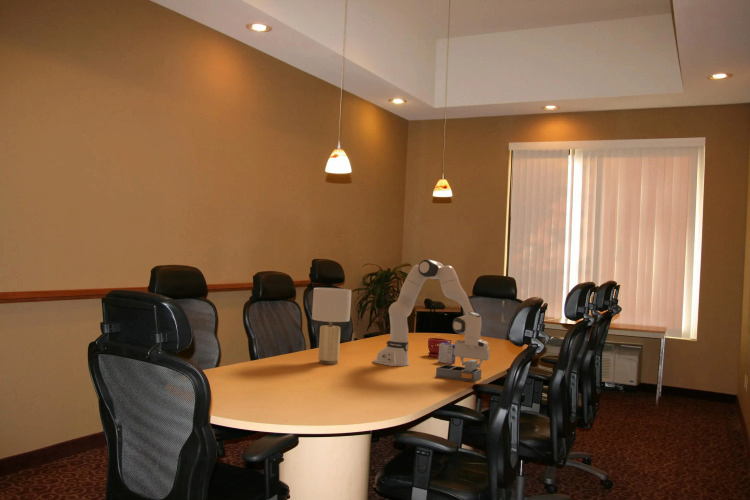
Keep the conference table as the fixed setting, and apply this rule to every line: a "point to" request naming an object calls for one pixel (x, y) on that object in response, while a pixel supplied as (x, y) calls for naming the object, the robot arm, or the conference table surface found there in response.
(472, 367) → the grey rectangular block
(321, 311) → the lamp
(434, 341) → the plant pot
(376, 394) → the conference table surface
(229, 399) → the conference table surface
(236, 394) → the conference table surface
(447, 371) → the slot rack
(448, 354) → the ink cartridge box
